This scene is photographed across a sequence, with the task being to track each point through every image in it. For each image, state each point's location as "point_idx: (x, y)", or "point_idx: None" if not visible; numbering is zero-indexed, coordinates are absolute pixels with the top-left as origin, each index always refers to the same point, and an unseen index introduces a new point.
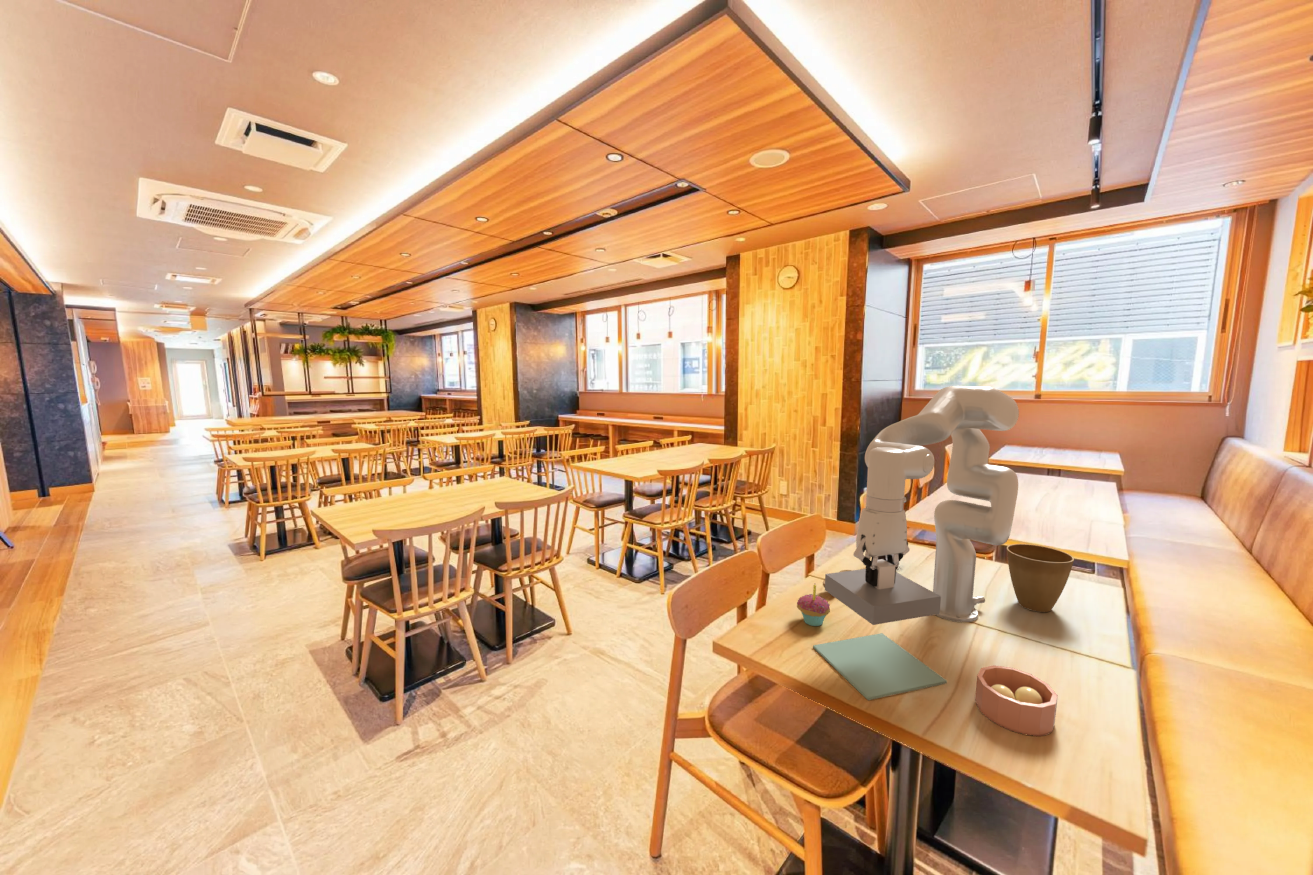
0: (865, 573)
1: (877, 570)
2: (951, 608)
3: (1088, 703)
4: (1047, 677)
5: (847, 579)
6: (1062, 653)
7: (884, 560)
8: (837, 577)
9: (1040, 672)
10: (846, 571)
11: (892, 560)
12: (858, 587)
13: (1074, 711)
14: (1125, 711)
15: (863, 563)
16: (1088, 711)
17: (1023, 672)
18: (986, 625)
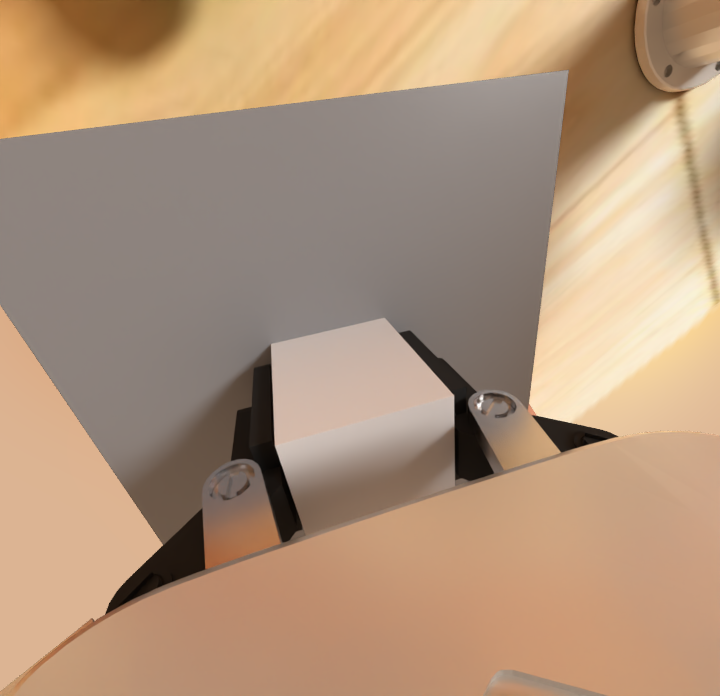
0: (234, 431)
1: (299, 523)
2: (689, 41)
3: (573, 388)
4: (588, 329)
5: (134, 298)
6: (687, 261)
7: (447, 426)
8: (43, 253)
9: (593, 315)
10: (175, 125)
11: (490, 472)
12: (180, 418)
13: (538, 403)
14: (595, 401)
15: (206, 484)
16: (554, 403)
17: (528, 410)
18: (689, 118)
